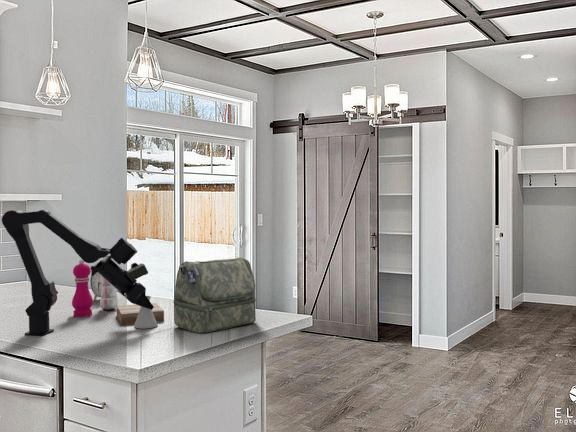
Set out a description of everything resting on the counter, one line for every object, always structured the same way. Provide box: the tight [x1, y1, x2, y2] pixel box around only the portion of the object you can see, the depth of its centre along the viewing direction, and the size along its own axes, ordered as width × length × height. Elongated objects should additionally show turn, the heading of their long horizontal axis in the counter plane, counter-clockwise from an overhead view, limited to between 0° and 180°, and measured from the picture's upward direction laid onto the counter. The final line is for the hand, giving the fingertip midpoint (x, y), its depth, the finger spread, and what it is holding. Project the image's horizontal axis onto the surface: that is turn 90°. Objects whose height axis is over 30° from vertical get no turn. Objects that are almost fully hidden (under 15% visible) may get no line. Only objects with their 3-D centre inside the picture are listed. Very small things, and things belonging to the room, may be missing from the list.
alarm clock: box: [89, 263, 101, 300], centre depth 253 cm, size 12×7×15 cm, turn 49°
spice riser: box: [116, 302, 165, 325], centre depth 213 cm, size 16×14×4 cm
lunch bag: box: [173, 257, 257, 334], centre depth 200 cm, size 26×18×22 cm
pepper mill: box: [71, 259, 94, 318], centre depth 220 cm, size 7×7×20 cm
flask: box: [133, 295, 159, 330], centre depth 199 cm, size 7×7×10 cm
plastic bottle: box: [99, 255, 119, 311], centre depth 230 cm, size 6×7×20 cm
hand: (149, 306), depth 200 cm, fingers open, 9 cm apart
